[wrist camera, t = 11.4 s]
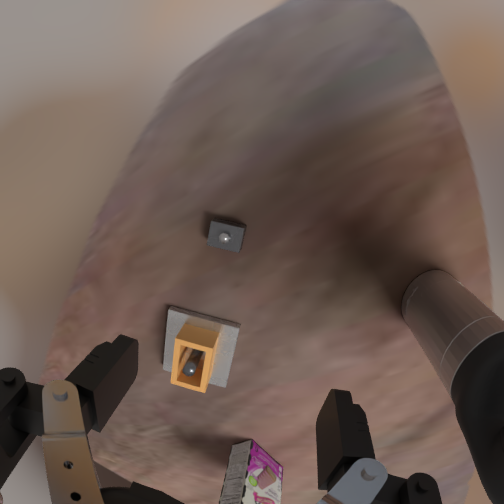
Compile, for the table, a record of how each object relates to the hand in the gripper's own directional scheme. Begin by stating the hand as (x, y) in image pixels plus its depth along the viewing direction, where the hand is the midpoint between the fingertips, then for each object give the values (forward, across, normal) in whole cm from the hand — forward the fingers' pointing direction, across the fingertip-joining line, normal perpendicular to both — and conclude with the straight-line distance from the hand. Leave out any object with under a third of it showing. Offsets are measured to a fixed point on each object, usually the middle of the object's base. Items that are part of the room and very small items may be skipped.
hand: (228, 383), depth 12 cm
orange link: (+27, +6, +19) cm, 33 cm away
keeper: (+28, +6, +19) cm, 34 cm away
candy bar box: (+28, -8, +42) cm, 51 cm away
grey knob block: (+28, +5, +1) cm, 29 cm away
